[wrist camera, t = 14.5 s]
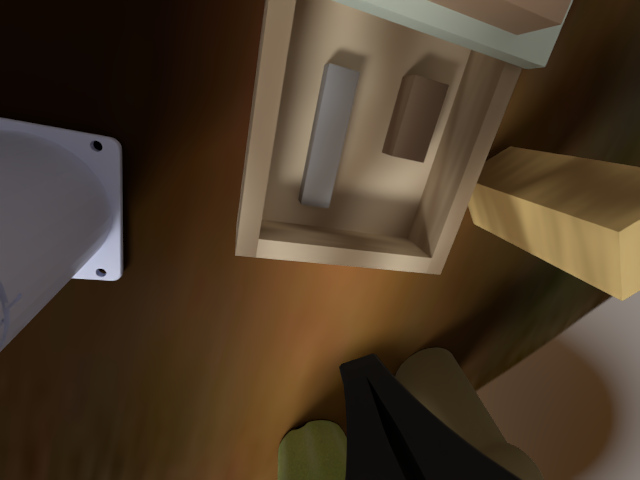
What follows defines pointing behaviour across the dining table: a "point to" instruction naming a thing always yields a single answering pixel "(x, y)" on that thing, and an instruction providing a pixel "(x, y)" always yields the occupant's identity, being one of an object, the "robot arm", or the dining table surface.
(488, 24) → the lid
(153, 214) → the dining table surface
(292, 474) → the plant pot
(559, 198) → the wooden block
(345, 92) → the toolbox
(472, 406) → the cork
